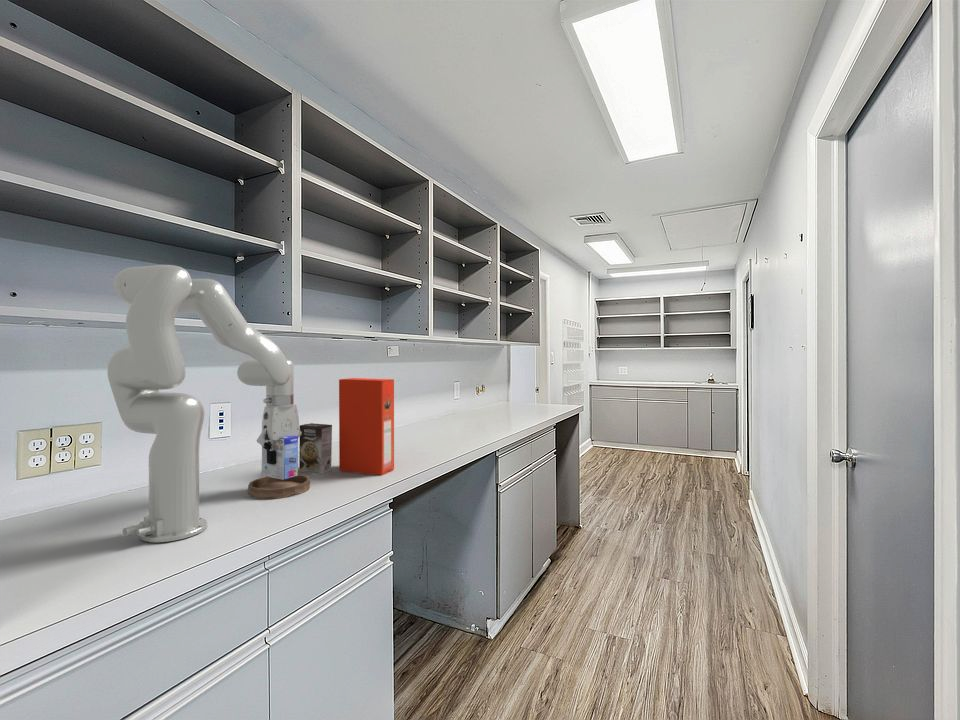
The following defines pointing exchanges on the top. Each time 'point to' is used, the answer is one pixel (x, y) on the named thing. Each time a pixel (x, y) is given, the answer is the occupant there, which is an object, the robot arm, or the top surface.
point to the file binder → (366, 425)
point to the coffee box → (315, 448)
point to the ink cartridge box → (282, 459)
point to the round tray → (278, 487)
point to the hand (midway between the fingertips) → (280, 461)
